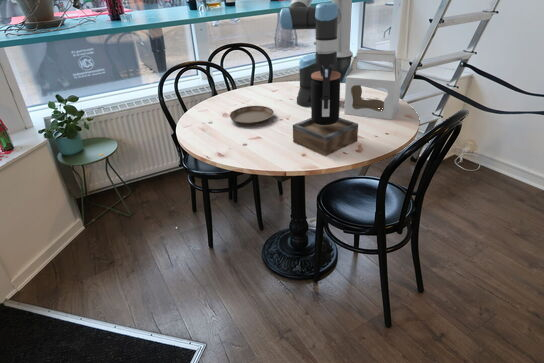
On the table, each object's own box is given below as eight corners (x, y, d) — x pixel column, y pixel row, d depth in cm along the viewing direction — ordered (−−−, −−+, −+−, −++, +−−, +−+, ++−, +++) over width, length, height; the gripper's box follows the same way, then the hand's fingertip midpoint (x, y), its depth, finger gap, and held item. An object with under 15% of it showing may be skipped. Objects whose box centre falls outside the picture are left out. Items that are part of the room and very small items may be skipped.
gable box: (343, 114, 175) (346, 52, 161) (352, 105, 185) (355, 46, 171) (392, 120, 165) (399, 55, 151) (398, 110, 175) (406, 48, 161)
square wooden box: (324, 129, 161) (324, 112, 157) (357, 141, 149) (358, 123, 145) (293, 142, 152) (292, 124, 148) (325, 156, 139) (326, 137, 136)
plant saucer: (269, 129, 166) (268, 121, 164) (224, 127, 170) (223, 121, 168) (277, 112, 183) (277, 105, 181) (237, 111, 187) (236, 105, 185)
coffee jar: (341, 116, 148) (343, 70, 139) (336, 126, 140) (337, 78, 130) (314, 114, 152) (314, 70, 142) (308, 124, 143) (307, 77, 134)
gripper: (315, 45, 143) (315, 101, 154) (315, 59, 123) (315, 122, 134) (335, 44, 142) (333, 100, 153) (338, 58, 122) (336, 122, 133)
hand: (325, 111), depth 144 cm, fingers closed on coffee jar, 11 cm apart
